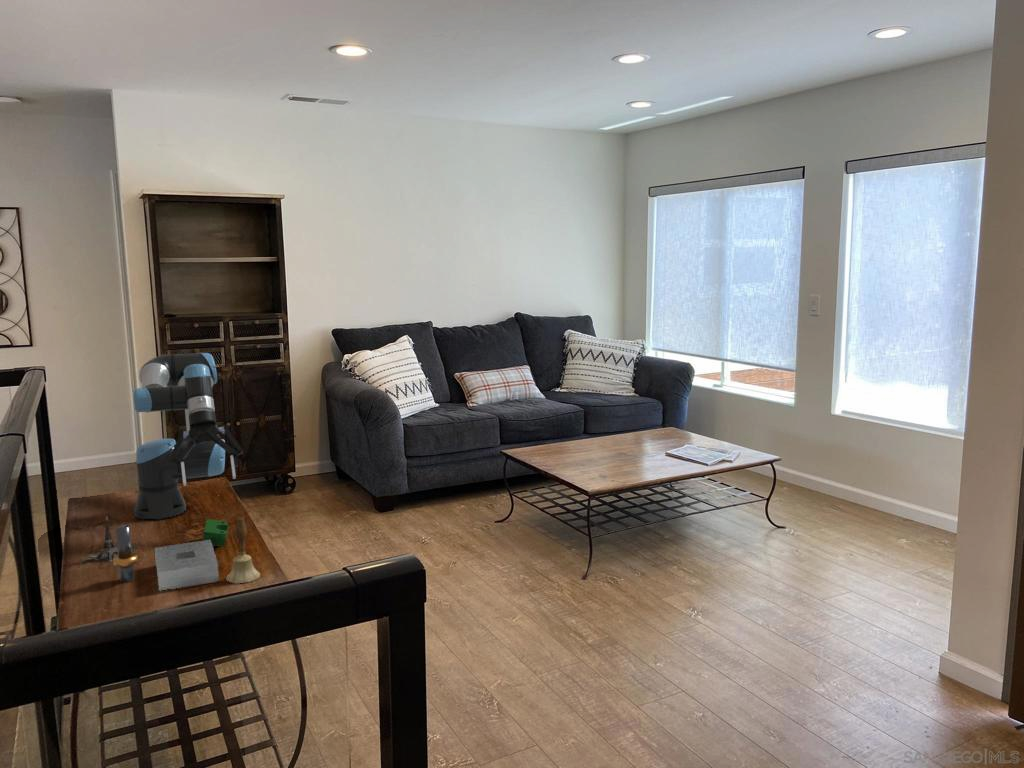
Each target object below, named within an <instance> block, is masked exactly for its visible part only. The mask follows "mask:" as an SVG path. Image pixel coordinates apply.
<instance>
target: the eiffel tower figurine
mask: <svg viewBox="0 0 1024 768" xmlns="http://www.w3.org/2000/svg"><path fill="white" fill-rule="evenodd" d="M104 520H105V536H104V537H105V539H104V543H103V545H102V548H101V549H100V553H99V552H95V553H92V554H90V555H87V556H85V560H94V561H98V562H99V561H100V562H105V563H112V562H113V558H114V557H115V556H117V555H118V547H117V545H115V543H114V541H113V538H112V535H111V532H110V527H109V526H110V525H109V517H108V516H107V515H105V516H104ZM138 547H139V548H138ZM139 549H140V546H132V551H136V550H139ZM102 555H104V556H102ZM106 555H107V556H106ZM96 557H97V558H96ZM79 568H84V564H83V563H79Z"/></svg>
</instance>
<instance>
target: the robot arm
mask: <svg viewBox="0 0 1024 768" xmlns="http://www.w3.org/2000/svg"><path fill="white" fill-rule="evenodd" d="M217 372H218V371H217V368H216V363H215V359H214V357H213V355H212V353H209V352H196V353H195V352H193V353H172V354H169V353H168V354H161V355H158V356H156V357H153V358H150V360H148V361H147V362H145V363H144V364H143V365H142V366H141V368H140V370H139V375H138V379H139V382H140V383H141V387H138V388H135V389H134V390H133V405H134V411H135V412H136V413H152V412H153V413H154V412H163V411H165V412H167V411H178V410H179V411H180V410H181V411H182V410H184V414H185V415H184V416H185V425H186V430H183V429H180V430H179V432H178V438H177V439H176V440H175V439H174V438H160V439H156V440H155V439H154V440H151V441H148V442H146V443H143V444H141V445H140V446H138V447H137V449H136V456H135V457H136V460H135V463H136V469H137V483H138V485H137V486H138V494H137V498H136V500H135V505H134V507H133V508H134V509H133V510H134V511H133V513H134V517H135V516H136V517H138V518H137V519H139V518H141V519H140V520H144V519H157V520H164V519H163V518H165V519H168V518H167V517H170V518H173V516H174V517H177V516H179V515H181V513H182V514H183V513H185V512H186V510H187V508H186V501H185V499H184V497H183V496H184V495H183V494H182V492H181V489H180V487H179V480H182V484H183V487H187V479H193V478H194V479H195V478H203V477H204V478H205V477H209V478H210V477H214V476H219V475H221V474H222V473H224V472H225V465H226V463H225V462H226V453H227V454H229V455H230V456H229V457H230V465H231V473H232V480H236V478H237V475H236V468H238V466H239V460H238V456H240V455H243V453H244V450H243V447H241V444H239V442H238V441H237V440H236V438H235V437H234V436H233V434H232V433H231V431H230V429H229V426H228V424H224V425H223V426H220V427H218V425H217V417H216V413H215V410H216V408H215V403H214V400H215V399H214V396H213V395H214V394H213V387H214V385H216V384H217V382H218V374H217ZM219 432H220V433H222V434H223V435H225V437H226V438H227V440H228V441H229V443H230V444H231V445H232V446H233V448H232V447H231V445H228V443H227V442H226V441H225V439H222V438H221V436H219ZM184 511H185V512H184ZM176 515H177V516H176ZM136 517H135V518H136Z"/></svg>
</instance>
